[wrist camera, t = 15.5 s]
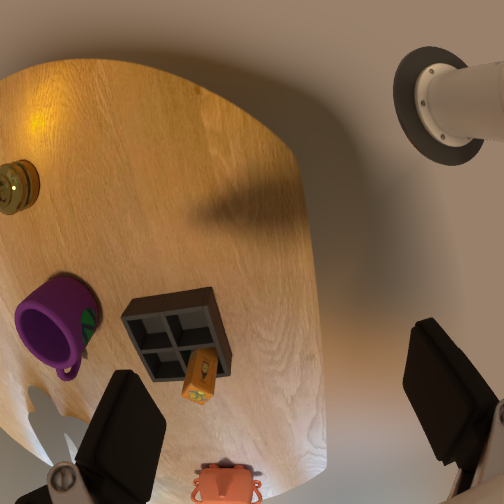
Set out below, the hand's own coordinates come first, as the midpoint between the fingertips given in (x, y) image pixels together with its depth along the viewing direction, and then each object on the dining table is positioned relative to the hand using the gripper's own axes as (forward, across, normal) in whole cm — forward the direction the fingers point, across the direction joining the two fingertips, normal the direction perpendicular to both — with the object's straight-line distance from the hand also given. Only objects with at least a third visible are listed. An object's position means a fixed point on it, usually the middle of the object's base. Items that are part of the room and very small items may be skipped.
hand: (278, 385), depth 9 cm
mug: (+28, +32, +12) cm, 44 cm away
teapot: (+28, +19, +63) cm, 72 cm away
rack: (+28, +14, +16) cm, 35 cm away
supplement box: (+27, +11, +19) cm, 35 cm away
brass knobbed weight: (+28, +33, -11) cm, 45 cm away
